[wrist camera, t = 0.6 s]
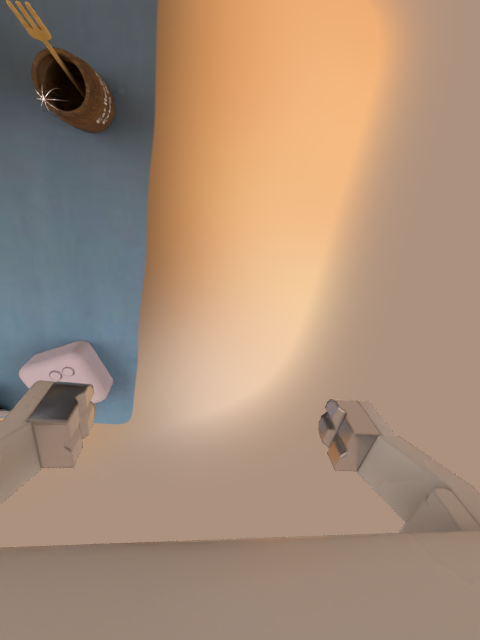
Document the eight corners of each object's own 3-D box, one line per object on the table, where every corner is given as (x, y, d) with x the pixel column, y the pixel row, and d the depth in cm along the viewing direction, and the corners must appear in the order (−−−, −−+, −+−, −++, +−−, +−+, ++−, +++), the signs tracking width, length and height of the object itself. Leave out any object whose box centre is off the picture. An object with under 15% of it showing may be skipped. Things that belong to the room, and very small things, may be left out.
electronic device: (49, 421, 45) (9, 374, 40) (62, 401, 49) (27, 356, 44) (108, 402, 44) (74, 354, 40) (116, 384, 49) (86, 338, 44)
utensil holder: (68, 133, 33) (3, 108, 22) (53, 64, 30) (-30, -4, 19) (120, 135, 33) (81, 111, 23) (110, 68, 31) (61, 4, 20)
